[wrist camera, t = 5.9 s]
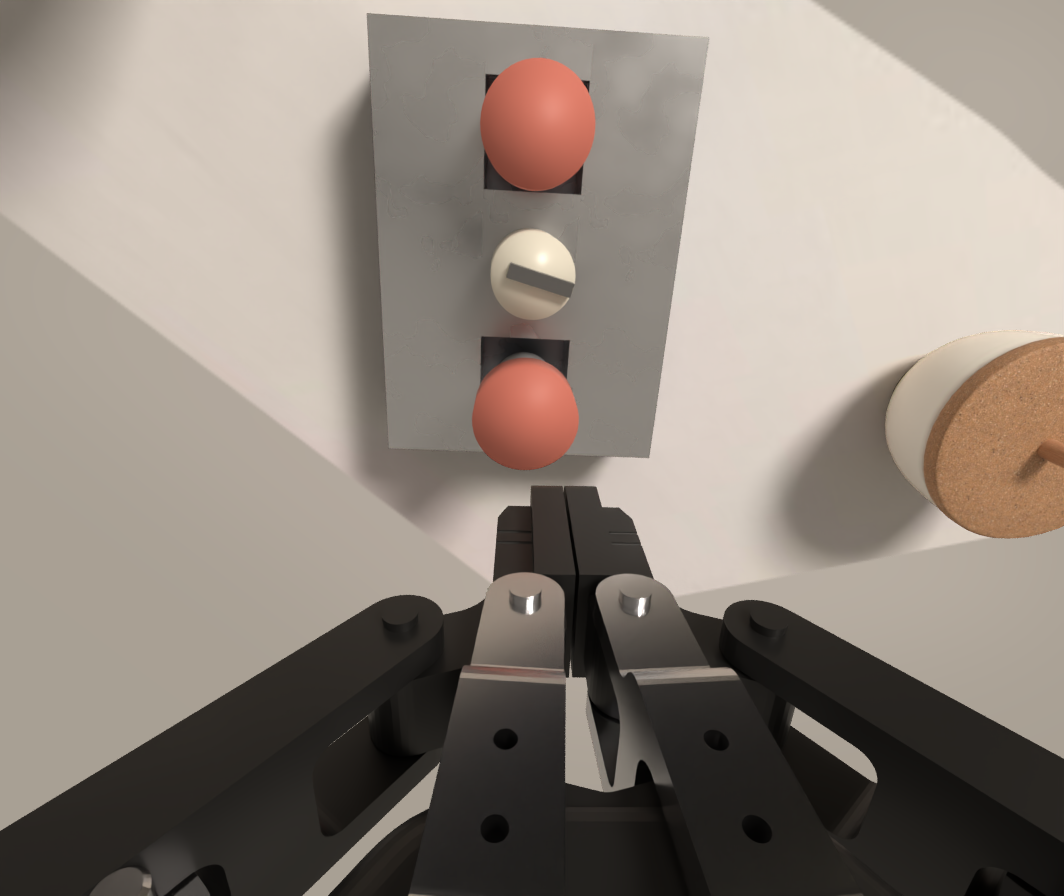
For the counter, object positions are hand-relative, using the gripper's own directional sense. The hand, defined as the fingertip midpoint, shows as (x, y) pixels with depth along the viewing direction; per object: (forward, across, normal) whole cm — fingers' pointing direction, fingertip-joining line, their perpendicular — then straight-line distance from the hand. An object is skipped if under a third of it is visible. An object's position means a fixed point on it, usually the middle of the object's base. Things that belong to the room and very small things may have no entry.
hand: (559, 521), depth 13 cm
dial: (+16, +1, -4) cm, 17 cm away
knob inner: (+19, 0, -10) cm, 21 cm away
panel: (+21, +1, -4) cm, 22 cm away
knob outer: (+16, +1, +1) cm, 17 cm away
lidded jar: (+22, -25, +3) cm, 34 cm away
